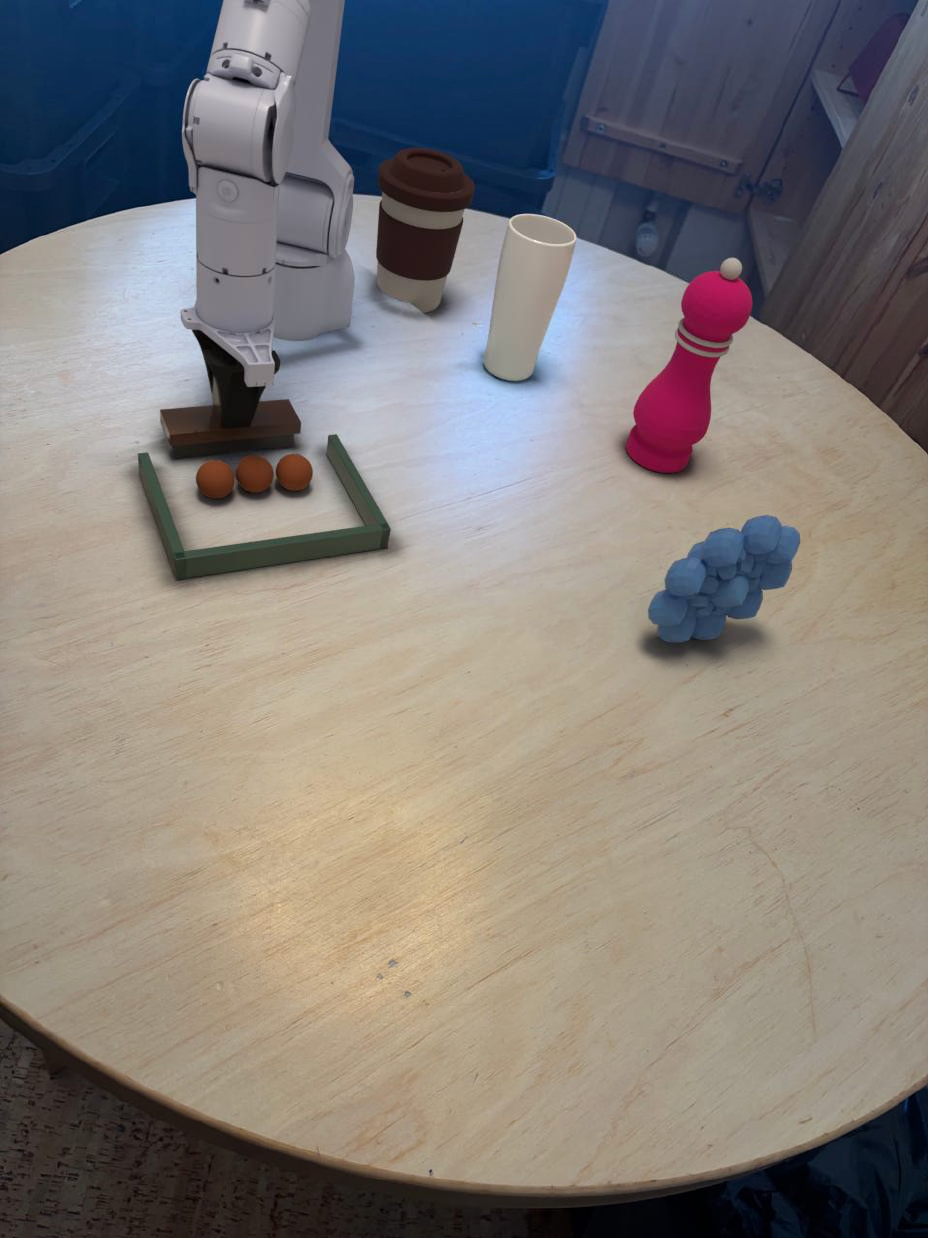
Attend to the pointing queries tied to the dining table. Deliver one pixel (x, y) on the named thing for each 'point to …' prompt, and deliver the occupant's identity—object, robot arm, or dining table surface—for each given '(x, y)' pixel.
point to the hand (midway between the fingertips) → (232, 414)
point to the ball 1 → (215, 479)
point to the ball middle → (254, 473)
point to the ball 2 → (294, 472)
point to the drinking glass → (526, 292)
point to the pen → (278, 548)
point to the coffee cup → (419, 224)
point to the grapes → (723, 579)
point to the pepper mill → (689, 371)
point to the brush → (209, 435)
